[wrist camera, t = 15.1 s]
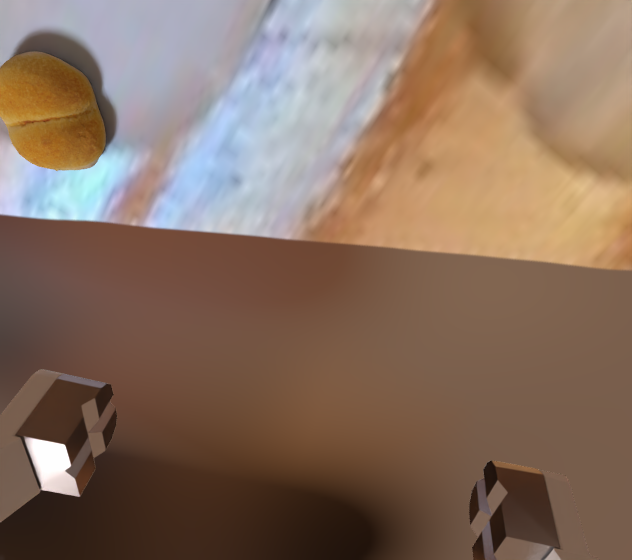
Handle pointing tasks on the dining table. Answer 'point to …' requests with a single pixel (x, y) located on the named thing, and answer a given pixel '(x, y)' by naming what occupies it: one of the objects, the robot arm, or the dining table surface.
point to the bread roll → (51, 112)
